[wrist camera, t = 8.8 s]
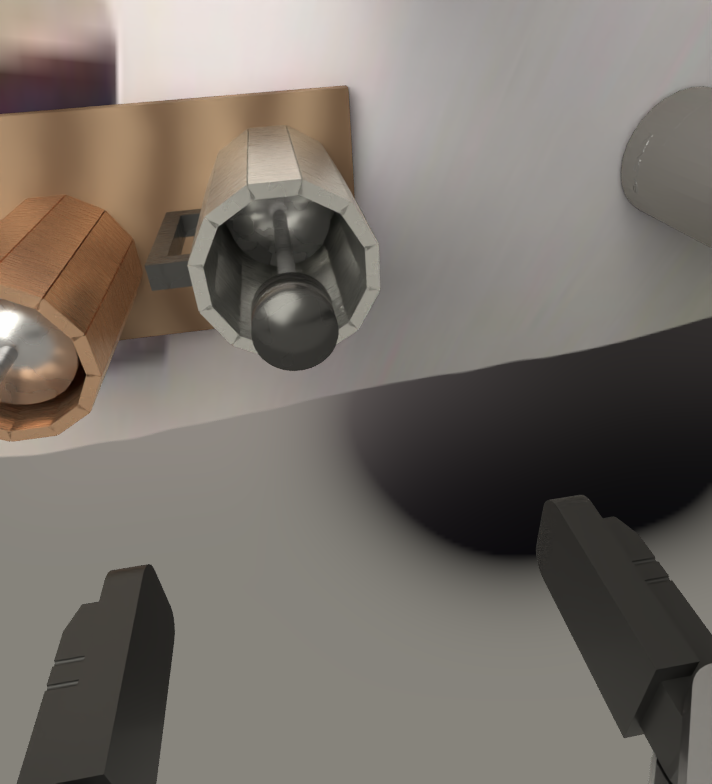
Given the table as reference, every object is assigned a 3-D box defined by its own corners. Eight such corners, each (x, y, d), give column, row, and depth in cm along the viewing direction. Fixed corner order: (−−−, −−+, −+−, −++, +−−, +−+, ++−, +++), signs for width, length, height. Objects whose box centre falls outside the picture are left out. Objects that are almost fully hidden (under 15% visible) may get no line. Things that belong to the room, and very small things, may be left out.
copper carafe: (118, 189, 37) (60, 270, 26) (155, 314, 42) (120, 426, 31) (-68, 207, 36) (-215, 300, 25) (-6, 333, 41) (-103, 457, 30)
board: (345, 85, 37) (348, 87, 36) (358, 304, 46) (360, 310, 45) (-71, 120, 34) (-80, 123, 33) (32, 343, 43) (27, 351, 42)
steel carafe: (337, 120, 37) (376, 171, 25) (346, 254, 42) (382, 346, 31) (156, 136, 36) (112, 197, 24) (189, 272, 41) (166, 374, 30)
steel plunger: (324, 155, 34) (370, 248, 21) (333, 257, 38) (376, 388, 25) (217, 165, 34) (197, 267, 21) (237, 267, 38) (229, 408, 24)
